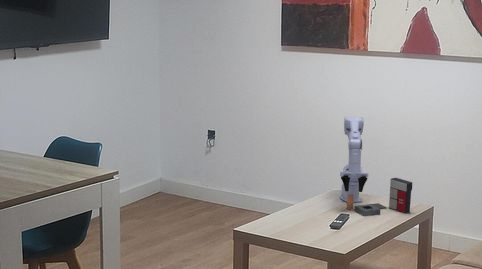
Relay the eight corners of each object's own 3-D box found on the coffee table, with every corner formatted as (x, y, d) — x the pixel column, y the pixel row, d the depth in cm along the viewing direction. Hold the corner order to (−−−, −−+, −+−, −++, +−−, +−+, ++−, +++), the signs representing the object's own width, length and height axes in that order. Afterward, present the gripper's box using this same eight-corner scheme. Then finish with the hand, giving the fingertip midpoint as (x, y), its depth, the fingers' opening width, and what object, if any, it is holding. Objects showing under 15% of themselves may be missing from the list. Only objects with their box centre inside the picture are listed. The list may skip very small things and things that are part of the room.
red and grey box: (387, 208, 380) (389, 178, 377) (393, 206, 382) (395, 177, 379) (404, 213, 371) (406, 183, 368) (410, 212, 374) (412, 182, 371)
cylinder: (345, 208, 378) (346, 194, 377) (351, 207, 379) (351, 194, 378) (348, 210, 376) (349, 196, 374) (354, 209, 377) (354, 195, 375)
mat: (365, 205, 384) (365, 204, 383) (378, 204, 386) (378, 203, 386) (373, 209, 377) (373, 208, 377) (386, 208, 379) (386, 207, 379)
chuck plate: (354, 210, 375) (354, 205, 374) (370, 209, 378) (370, 204, 377) (363, 216, 366) (364, 211, 366) (380, 214, 370) (380, 209, 369)
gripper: (345, 162, 368) (344, 191, 367) (371, 164, 374) (371, 192, 373) (338, 162, 375) (337, 191, 374) (364, 164, 380) (363, 192, 379)
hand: (353, 191), depth 374 cm, fingers open, 7 cm apart
